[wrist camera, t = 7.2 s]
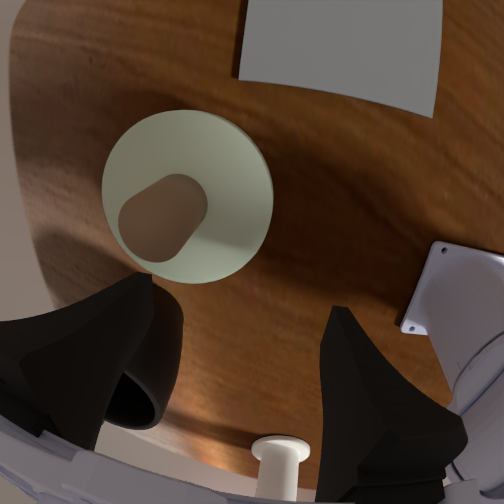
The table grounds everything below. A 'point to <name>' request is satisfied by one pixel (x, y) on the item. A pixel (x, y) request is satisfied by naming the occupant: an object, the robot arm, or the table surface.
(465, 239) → the table surface
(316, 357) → the table surface
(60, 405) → the robot arm
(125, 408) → the mug
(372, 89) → the mat
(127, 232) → the lid
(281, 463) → the candle
